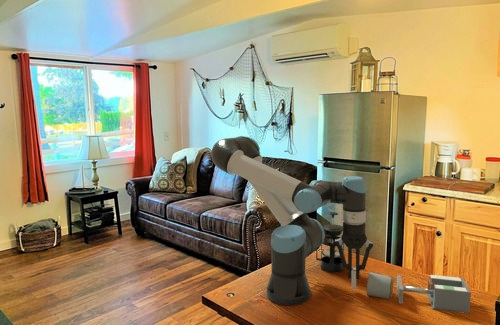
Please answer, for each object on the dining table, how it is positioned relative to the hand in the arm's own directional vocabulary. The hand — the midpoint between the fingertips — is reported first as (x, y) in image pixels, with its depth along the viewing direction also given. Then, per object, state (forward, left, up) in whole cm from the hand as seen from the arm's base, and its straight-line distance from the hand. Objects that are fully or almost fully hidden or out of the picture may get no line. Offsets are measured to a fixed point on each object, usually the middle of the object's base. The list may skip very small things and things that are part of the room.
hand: (353, 287), depth 131 cm
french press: (-10, +19, -2) cm, 21 cm away
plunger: (+21, 0, -1) cm, 21 cm away
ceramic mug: (+9, +1, -2) cm, 9 cm away
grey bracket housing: (+29, 0, -2) cm, 29 cm away
